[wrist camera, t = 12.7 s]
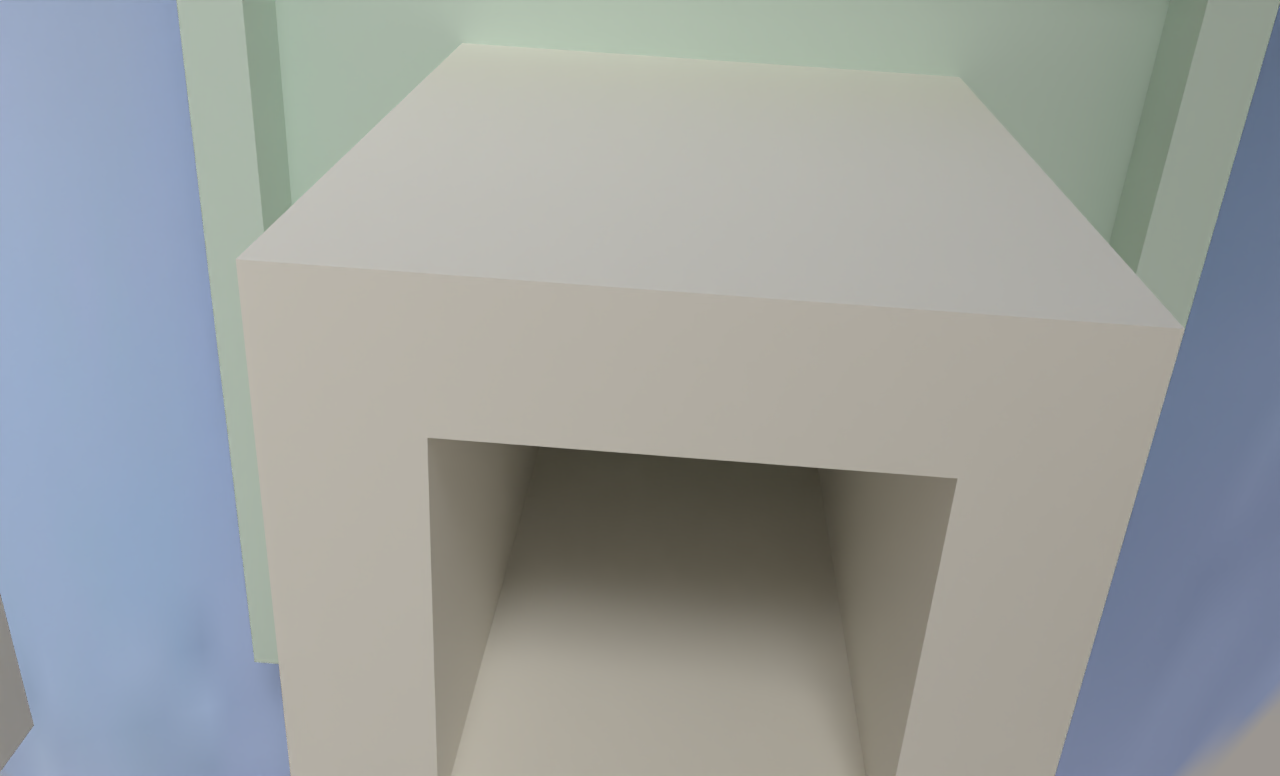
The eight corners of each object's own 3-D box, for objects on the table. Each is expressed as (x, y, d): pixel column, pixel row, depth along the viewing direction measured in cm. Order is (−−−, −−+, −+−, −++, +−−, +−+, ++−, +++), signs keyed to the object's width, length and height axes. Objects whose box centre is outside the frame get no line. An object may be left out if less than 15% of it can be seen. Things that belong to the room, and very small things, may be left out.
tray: (203, -255, 18) (145, -262, 16) (1270, -189, 17) (1335, -188, 15) (287, 600, 25) (254, 661, 23) (1042, 660, 24) (1068, 728, 23)
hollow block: (462, 43, 19) (235, 258, 10) (959, 76, 19) (1185, 329, 10) (467, 469, 22) (305, 908, 14) (884, 501, 22) (998, 970, 13)
